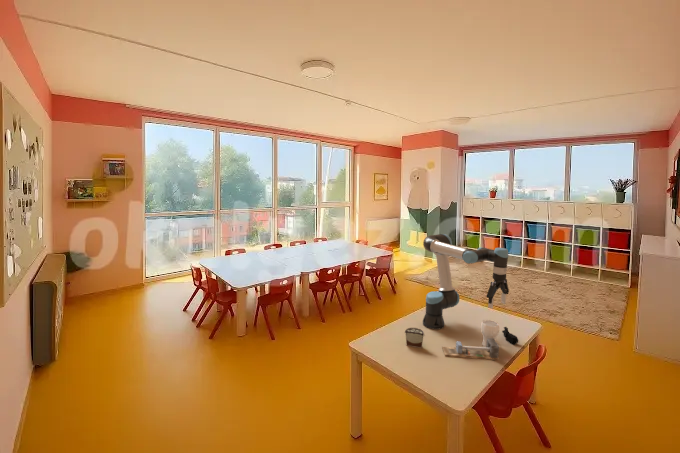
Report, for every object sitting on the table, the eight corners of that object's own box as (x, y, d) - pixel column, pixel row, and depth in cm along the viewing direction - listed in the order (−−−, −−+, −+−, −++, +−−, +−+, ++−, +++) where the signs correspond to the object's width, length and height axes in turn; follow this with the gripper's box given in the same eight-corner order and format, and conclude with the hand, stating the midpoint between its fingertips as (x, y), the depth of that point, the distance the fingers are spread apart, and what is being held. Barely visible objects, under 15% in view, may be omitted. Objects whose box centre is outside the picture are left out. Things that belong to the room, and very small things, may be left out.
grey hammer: (458, 354, 190) (458, 346, 189) (455, 348, 196) (456, 341, 196) (492, 356, 187) (493, 348, 186) (489, 350, 194) (489, 343, 193)
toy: (518, 345, 202) (519, 335, 202) (511, 345, 202) (511, 335, 202) (506, 334, 218) (506, 325, 217) (498, 334, 218) (499, 325, 217)
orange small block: (468, 355, 189) (468, 353, 189) (467, 353, 191) (467, 351, 191) (470, 355, 189) (470, 353, 189) (469, 353, 191) (469, 351, 191)
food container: (424, 343, 205) (425, 328, 204) (424, 348, 200) (424, 333, 198) (405, 340, 209) (405, 326, 208) (404, 345, 204) (404, 330, 202)
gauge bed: (444, 356, 191) (445, 343, 189) (442, 348, 199) (442, 335, 198) (498, 359, 187) (499, 346, 185) (492, 351, 196) (493, 338, 194)
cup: (499, 351, 196) (500, 328, 194) (480, 348, 199) (481, 325, 197) (497, 343, 206) (498, 320, 203) (479, 340, 209) (480, 318, 207)
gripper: (493, 278, 188) (490, 312, 191) (516, 271, 201) (513, 303, 204) (481, 274, 194) (479, 307, 198) (505, 268, 207) (502, 299, 211)
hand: (496, 305), depth 201 cm, fingers open, 13 cm apart
